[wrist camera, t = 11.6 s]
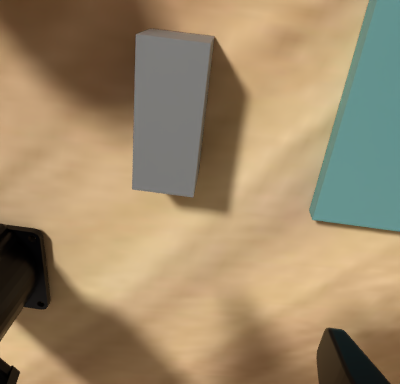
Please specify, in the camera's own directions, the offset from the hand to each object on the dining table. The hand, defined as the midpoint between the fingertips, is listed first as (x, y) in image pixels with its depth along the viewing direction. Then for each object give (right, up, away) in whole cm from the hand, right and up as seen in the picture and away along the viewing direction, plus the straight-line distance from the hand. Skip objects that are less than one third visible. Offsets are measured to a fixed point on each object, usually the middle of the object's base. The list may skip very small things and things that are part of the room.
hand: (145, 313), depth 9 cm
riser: (0, +7, +10) cm, 12 cm away
